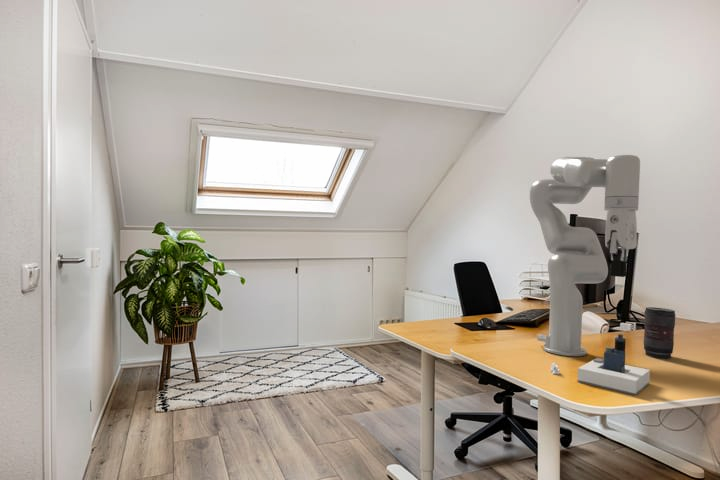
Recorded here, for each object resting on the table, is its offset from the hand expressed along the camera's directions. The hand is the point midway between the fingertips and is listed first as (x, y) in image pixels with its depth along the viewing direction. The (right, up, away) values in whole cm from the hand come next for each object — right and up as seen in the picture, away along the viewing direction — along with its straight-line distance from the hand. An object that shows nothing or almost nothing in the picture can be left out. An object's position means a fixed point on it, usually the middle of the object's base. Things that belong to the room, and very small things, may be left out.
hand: (618, 276), depth 116 cm
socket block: (-2, -27, 0) cm, 27 cm away
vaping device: (-1, -27, 0) cm, 27 cm away
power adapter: (-12, -27, +6) cm, 31 cm away
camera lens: (+28, -28, +27) cm, 47 cm away
